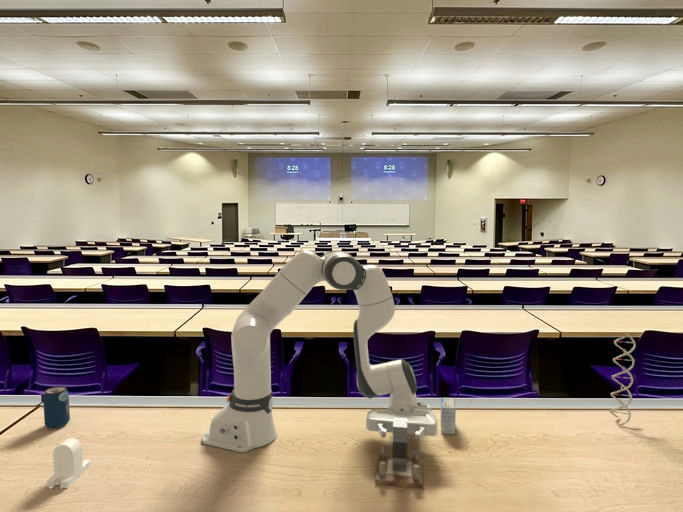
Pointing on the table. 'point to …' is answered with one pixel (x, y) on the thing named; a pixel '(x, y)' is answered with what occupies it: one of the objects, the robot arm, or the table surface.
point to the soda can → (56, 407)
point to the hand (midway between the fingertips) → (400, 436)
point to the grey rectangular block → (399, 444)
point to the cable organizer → (67, 463)
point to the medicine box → (448, 415)
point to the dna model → (624, 377)
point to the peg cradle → (399, 478)
